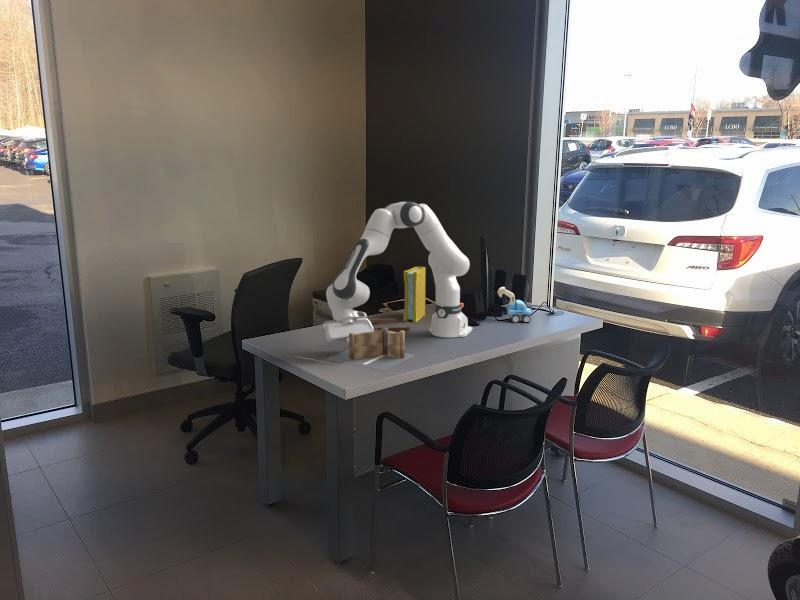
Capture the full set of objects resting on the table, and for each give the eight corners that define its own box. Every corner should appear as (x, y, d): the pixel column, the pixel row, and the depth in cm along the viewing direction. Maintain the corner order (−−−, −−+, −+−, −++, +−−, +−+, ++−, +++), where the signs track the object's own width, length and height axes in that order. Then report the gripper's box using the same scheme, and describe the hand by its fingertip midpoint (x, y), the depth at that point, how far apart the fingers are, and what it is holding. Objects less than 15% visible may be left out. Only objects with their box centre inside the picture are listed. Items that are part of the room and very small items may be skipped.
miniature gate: (413, 326, 305) (350, 327, 294) (412, 337, 306) (350, 339, 295) (392, 313, 330) (334, 314, 319) (392, 324, 331) (334, 325, 320)
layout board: (359, 346, 284) (359, 344, 284) (415, 356, 270) (415, 354, 270) (325, 360, 264) (325, 358, 264) (384, 371, 250) (384, 370, 250)
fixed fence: (381, 354, 270) (381, 328, 268) (384, 353, 272) (384, 327, 270) (402, 358, 265) (402, 332, 262) (405, 357, 267) (405, 330, 264)
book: (416, 322, 326) (416, 272, 321) (403, 320, 329) (403, 271, 323) (427, 314, 342) (427, 267, 336) (415, 313, 344) (415, 266, 339)
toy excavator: (495, 318, 334) (497, 285, 330) (529, 319, 333) (530, 285, 330) (497, 323, 325) (499, 288, 322) (531, 323, 325) (533, 289, 321)
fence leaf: (380, 353, 270) (380, 328, 268) (383, 354, 268) (383, 329, 266) (348, 358, 262) (348, 333, 260) (350, 360, 261) (350, 334, 259)
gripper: (323, 317, 262) (333, 347, 256) (369, 312, 272) (380, 340, 266) (319, 326, 267) (329, 355, 261) (364, 320, 277) (375, 348, 271)
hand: (355, 348), depth 264 cm, fingers closed, pressing on fence leaf
